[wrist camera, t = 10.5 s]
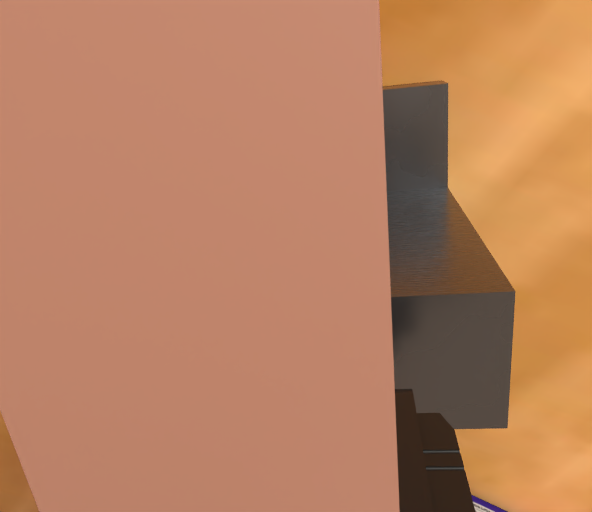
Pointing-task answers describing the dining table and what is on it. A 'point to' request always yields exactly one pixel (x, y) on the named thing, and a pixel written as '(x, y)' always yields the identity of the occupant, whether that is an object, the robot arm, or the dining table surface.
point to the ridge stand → (441, 273)
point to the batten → (196, 256)
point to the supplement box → (485, 506)
